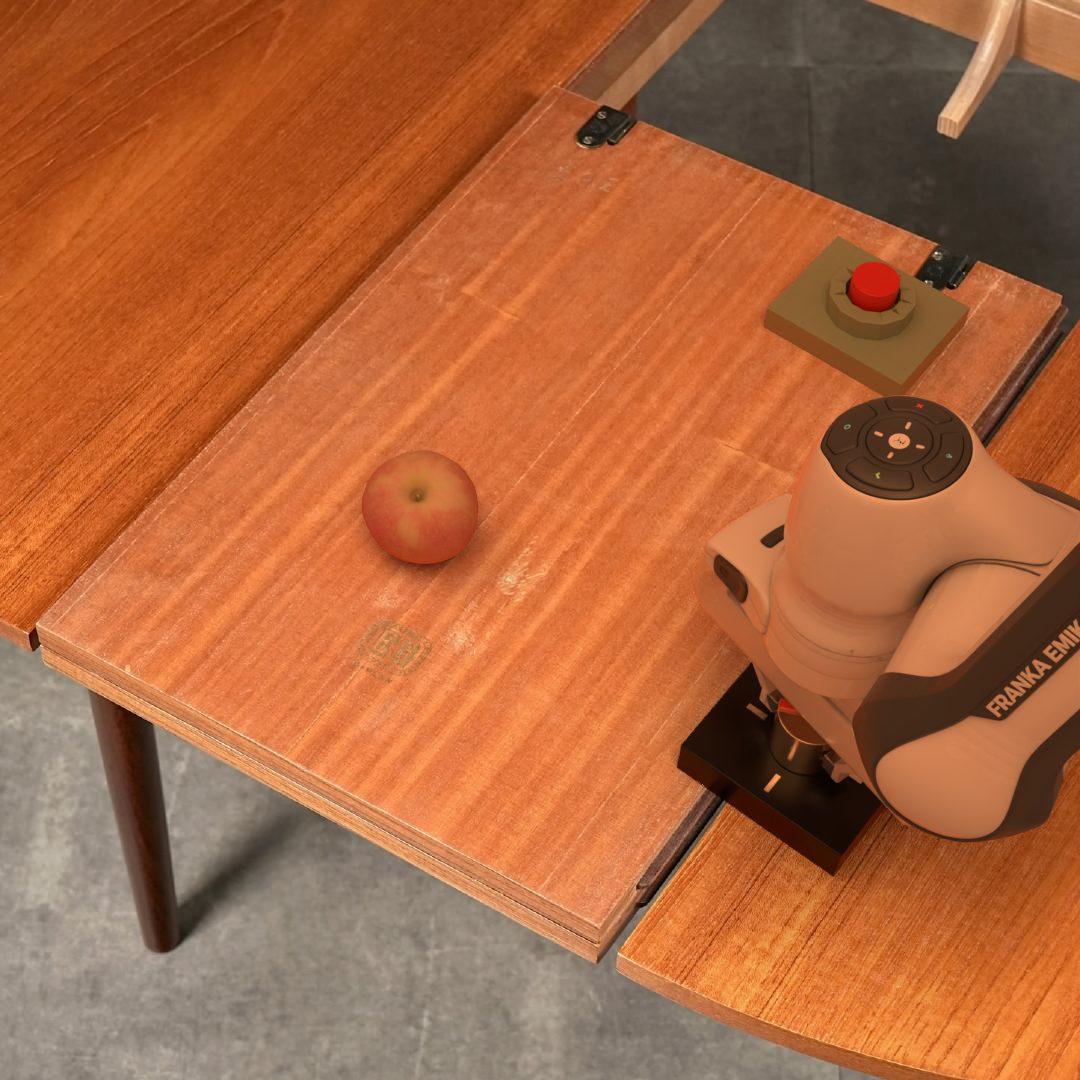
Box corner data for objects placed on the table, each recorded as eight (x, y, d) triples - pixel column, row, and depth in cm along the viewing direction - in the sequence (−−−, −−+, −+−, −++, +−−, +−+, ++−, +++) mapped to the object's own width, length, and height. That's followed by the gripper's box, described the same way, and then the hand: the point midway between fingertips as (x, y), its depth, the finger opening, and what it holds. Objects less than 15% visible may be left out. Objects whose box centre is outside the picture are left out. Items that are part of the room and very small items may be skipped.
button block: (963, 327, 131) (975, 291, 128) (896, 403, 127) (906, 368, 124) (833, 255, 136) (841, 218, 132) (763, 327, 131) (770, 291, 128)
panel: (917, 764, 110) (927, 741, 107) (833, 877, 105) (841, 855, 102) (763, 663, 114) (769, 638, 111) (676, 767, 109) (680, 744, 106)
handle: (843, 721, 108) (855, 687, 104) (833, 782, 105) (845, 749, 102) (775, 706, 108) (784, 671, 105) (763, 765, 106) (772, 732, 102)
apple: (347, 563, 118) (338, 495, 111) (397, 484, 122) (392, 413, 115) (450, 605, 116) (447, 538, 109) (497, 522, 120) (498, 453, 113)
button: (905, 292, 128) (909, 276, 127) (879, 319, 127) (884, 303, 125) (864, 270, 130) (868, 254, 128) (839, 297, 128) (843, 281, 127)
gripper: (1018, 721, 91) (959, 832, 102) (768, 473, 100) (740, 600, 112) (933, 783, 89) (883, 889, 100) (686, 523, 98) (666, 648, 109)
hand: (806, 735), depth 106 cm, fingers closed on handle, 4 cm apart
